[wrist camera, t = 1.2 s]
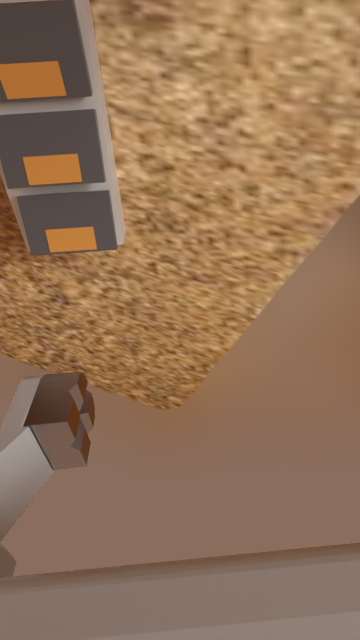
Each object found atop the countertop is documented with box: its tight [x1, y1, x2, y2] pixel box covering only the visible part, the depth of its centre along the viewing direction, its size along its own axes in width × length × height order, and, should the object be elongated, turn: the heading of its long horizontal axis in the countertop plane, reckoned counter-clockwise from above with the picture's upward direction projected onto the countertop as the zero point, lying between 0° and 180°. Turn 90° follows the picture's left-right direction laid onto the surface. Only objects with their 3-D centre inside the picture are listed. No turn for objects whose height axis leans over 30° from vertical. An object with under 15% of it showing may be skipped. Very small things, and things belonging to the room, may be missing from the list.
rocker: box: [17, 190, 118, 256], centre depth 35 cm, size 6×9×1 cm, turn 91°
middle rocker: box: [0, 109, 106, 189], centre depth 31 cm, size 6×9×1 cm, turn 91°
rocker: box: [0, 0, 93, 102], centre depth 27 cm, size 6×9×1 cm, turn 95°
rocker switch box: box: [0, 0, 125, 251], centre depth 34 cm, size 21×11×4 cm, turn 3°
